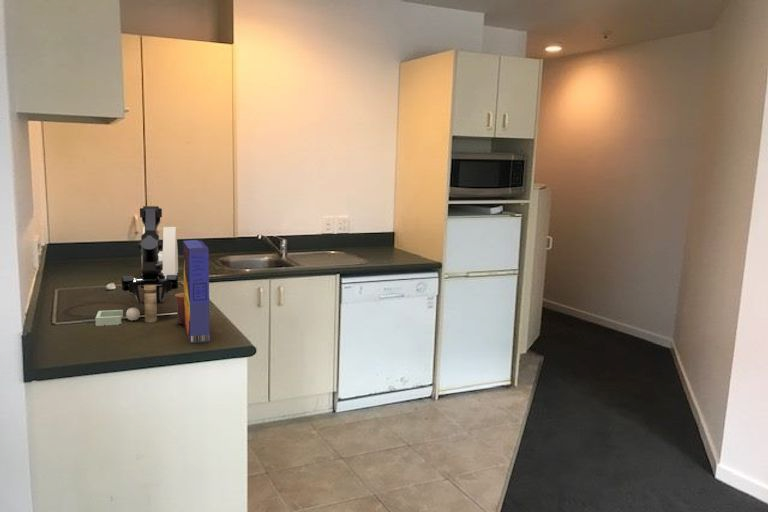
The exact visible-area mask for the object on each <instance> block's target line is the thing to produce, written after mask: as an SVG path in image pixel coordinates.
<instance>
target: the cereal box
mask: <svg viewBox="0 0 768 512" xmlns="http://www.w3.org/2000/svg"><path fill="white" fill-rule="evenodd" d="M182 242H183V243H182V245H183V246H182V249H183V250H182V251H183V254H182V255H183V256H182V257H183V258H182V259H183V293H184V317H185V325H184V329H185V332H186V335H187V338H188V341H189V342H188V343H189V344H196V343H197V344H198V343H209V342H210V341H211V339H210V337H211V336H210V332H211V331H210V262H209V261H210V260H209V256H210V255H209V254H210V253H209V250H210V249H209V247H208V246H207V245H206V244H205V243H204V241H202V240H198V239H191V240H190V239H188V240H183V241H182Z"/></svg>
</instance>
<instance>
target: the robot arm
mask: <svg viewBox="0 0 768 512" xmlns="http://www.w3.org/2000/svg"><path fill="white" fill-rule="evenodd" d="M139 218H141V221H142V224H143V225H144V227H145V233H144V234H143V233H142V234H141V240H140V241H138V250H139V252H140V251H141V273H140V279H137V278H136V277H135V276H134V275H123V276H122V278H121V286H122V291H123V292H129V293H131V294H133V296H134V297H135V299H136V301H137V303H138V304H140V303H141V299H140V292H139V286H140V287H141V288H140V289H144V285H146V284H156V290H157V292H156V296H157V304H160V303H164V300H165V298H166V296H167V294H168V293H169V292H171V291H172V290H177V289H178V288H179V277H178V276H179V275H178V274H177V275H166V279H165V276H164V274H163V273H161V271H162V270H163V261H159V256H158V253H159V251H162V250H163V241H161V240H160V235H159V234H158V233H157V231H158V230H157V228H158V227H159V225H160V224H161V218H163V208H161V207H159V206H158V205H157V206H156V205H150V206H149V205H146V206H145V205H143V206H142V208H139ZM142 302H143V303H145V301H144V299H142Z"/></svg>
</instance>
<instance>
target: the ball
mask: <svg viewBox="0 0 768 512" xmlns="http://www.w3.org/2000/svg"><path fill="white" fill-rule="evenodd" d="M140 314H141V312H140V310H139V309H138V308H136V307H129V308H128V309H127V310H126V312H125V317H126V319H128V320H129V321H133V320H134V321H136V320H138V319H139V318H140ZM134 321H133V322H134Z"/></svg>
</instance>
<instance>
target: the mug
mask: <svg viewBox="0 0 768 512" xmlns="http://www.w3.org/2000/svg"><path fill="white" fill-rule="evenodd" d="M174 298H175V301H176V306H177V307H176V308H177V310H176V318H177V323H178V324H180V325H182V326H185V317H184V292H180V293H176V294H174Z"/></svg>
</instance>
